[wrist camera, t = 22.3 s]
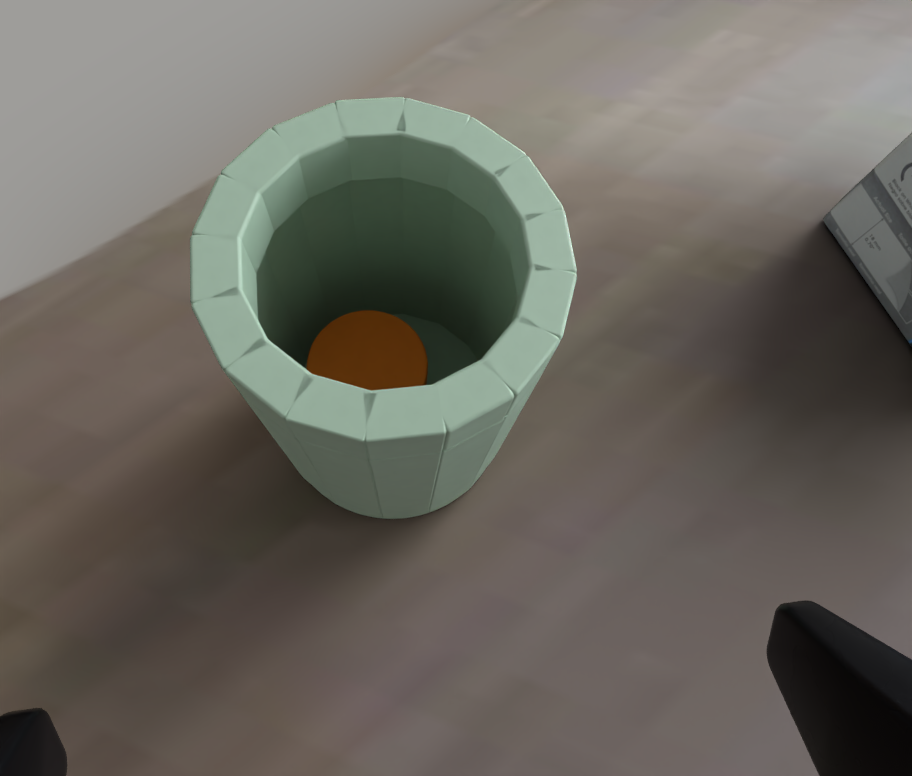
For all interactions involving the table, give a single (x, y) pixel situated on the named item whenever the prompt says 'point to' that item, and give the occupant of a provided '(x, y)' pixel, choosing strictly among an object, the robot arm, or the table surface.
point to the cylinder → (369, 352)
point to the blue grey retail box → (881, 232)
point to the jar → (384, 291)
